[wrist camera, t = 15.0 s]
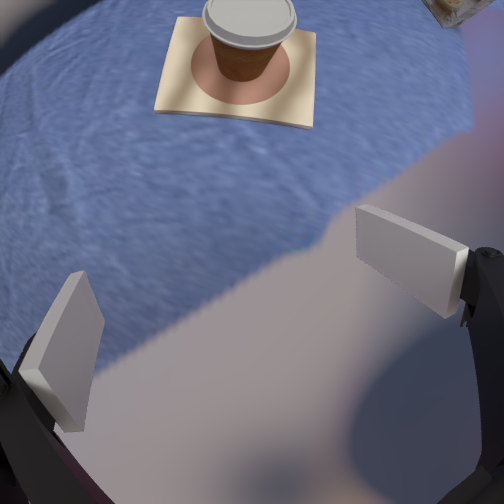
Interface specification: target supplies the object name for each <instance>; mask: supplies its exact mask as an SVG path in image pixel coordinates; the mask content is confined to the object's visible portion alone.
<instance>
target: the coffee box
mask: <svg viewBox="0 0 504 504" xmlns="http://www.w3.org/2000/svg"><path fill="white" fill-rule="evenodd" d="M422 1H423V2H424V3H425V5H426V6H427V7H428V8H429V10H430V11H431V12H432V14H433V15H434V16H435V18H436V19H437V20H438V22H439V23H440V25H441V26H442V27H443V28H454V27H458V26H459V25H461V24H462V23H464V22H465V21H466V20H468V19H469V18H471V17H472V16H474V15H475V14H476V13H478V12H479V11H481V10H482V9H484V8H485V7H486V6H488V5H489V4H491V3H492V2H494V1H495V0H422Z"/></svg>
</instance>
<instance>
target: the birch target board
mask: <svg viewBox="0 0 504 504" xmlns="http://www.w3.org/2000/svg"><path fill="white" fill-rule="evenodd" d="M315 53H316V33H313V32H309V31H304V30H299V29H294V31H293V33H292V34H291V35H290V36H289V37H288V38H287V39H286V40H284V41H283V42H282V43H281V45H280V46H279V48H278V49H277V51H276V52H275V54H274V56H273V57H272V59H271V60H270V62H269V63H268V65H267V67H266V68H265V70H264V72H263V73H262V74H261V75H260V76H259V77H258V78H256V79H254V80H252V81H247V82H238V81H233V80H230V79H228V78H227V77H225V76H224V75H223V74H222V73H221V72H220V70H219V68H218V65H217V60H216V56H215V52H214V48H213V44H212V40H211V36H210V32H209V31H208V30H207V28H206V27H205V24H204V22H203V17H178V18H177V21H176V25H175V28H174V31H173V35H172V38H171V42H170V45H169V49H168V53H167V56H166V60H165V64H164V68H163V72H162V76H161V80H160V84H159V89H158V93H157V98H156V102H155V107H154V111H155V113H165V114H186V115H201V116H213V117H224V118H233V119H242V120H251V121H258V122H266V123H273V124H279V125H286V126H292V127H298V128H303V129H309V130H310V129H311V128H312V127H313V111H314V88H315Z"/></svg>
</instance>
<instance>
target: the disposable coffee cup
mask: <svg viewBox="0 0 504 504" xmlns="http://www.w3.org/2000/svg"><path fill="white" fill-rule="evenodd" d="M202 17H203V22H204V24H205V27H206V28H207V30H208V31H209V32H210V36H211V40H212V44H213V48H214V52H215V56H216V60H217V65H218V68H219V70H220V72H221V73H222V74H223V75H224V76H225V77H227V78H228V79H230V80H233V81H238V82H247V81H252V80H254V79H256V78H258V77H259V76H260V75H261V74H262V73H263V72H264V70H265V68H266V67H267V65H268V63H269V62H270V60H271V59H272V57H273V56H274V54H275V52H276V51H277V49H278V48H279V46H280V45H281V43H282V42H283V41H284V40H286V39H287V38H288V37H289V36H290V35H291V34H292V33H293V31H294V29H295V27H296V22H297V17H296V13H295V11H294V6H293V4H292V2H291V0H208V2H207V3H206V4H205V7H204V9H203V15H202Z"/></svg>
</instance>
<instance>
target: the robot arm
mask: <svg viewBox="0 0 504 504" xmlns="http://www.w3.org/2000/svg"><path fill="white" fill-rule="evenodd" d="M355 210H356V239H357V240H356V243H357V244H356V246H357V257H358V258H359V259H360V260H362V261H363V262H365V263H366V264H368V265H369V266H371V267H372V268H374V269H375V270H377V271H378V272H380V273H381V274H383V275H384V276H386V277H387V278H388V279H390V280H391V281H393V282H394V283H396V284H397V285H399V286H400V287H402V288H403V289H404V290H406V291H407V292H409V293H410V294H411V295H413V296H414V297H416V298H417V299H418V300H420V301H421V302H423V303H424V304H425V305H427V306H428V307H429V308H431V309H432V310H434V311H435V312H436V313H438V314H439V315H440V316H442V317H443V318H445V319H446V318H447V317H449V316H451V315H453V314H454V313H456V312H457V310H458V305H459V301H460V298H461V299H462V300H464V301H465V302H466V303H465V307H464V311H463V315H462V319H461V323H460V327H462V326H463V323H464V322H465V321H467V324H466V327H468V331H469V335H470V340H471V346H472V350H473V357H474V363H475V369H476V377H477V385H478V393H479V404H480V416H481V434H482V451H481V456H480V458H479V461H478V464H477V466H476V469H475V471H474V472H473V473H472V474H471V475H470V476H468V477H467V478H466V479H465V480H464V481H462V482H461V483H460V484H459V485H457V486H456V487H455V488H454V489H452V490H451V491H450V492H448V493H447V494H446V495H445V496H444V497H443V498H442V499H441V500H440V501H439V502H438V503H437V504H504V255H503V254H502V253H501V252H500V251H499V250H496V249H494V248H490V247H481V248H478V249H476V250H475V252H474V251H472V250H470V249H469V247H467V246H465V245H462V244H461V243H458V242H456V241H454V240H452V239H450V238H448V237H445V236H443V235H441V234H439V233H436V232H434V231H432V230H429V229H427V228H425V227H423V226H420V225H418V224H415V223H413V222H411V221H408V220H406V219H404V218H401V217H399V216H396V215H394V214H391V213H389V212H386V211H384V210H381V209H378V208H376V207H373V206H371V205H368V204H366V205H361V206H356V207H355ZM104 324H105V320H104V317H103V315H102V313H101V310H100V308H99V306H98V303H97V301H96V298H95V296H94V293H93V291H92V288H91V286H90V283H89V280H88V278H87V275H86V272H85V270H83V271H79V272H75V273H71V274H70V275H69V277H68V279H67V280H66V282H65V283H64V285H63V287H62V288H61V290H60V292H59V294H58V295H57V297H56V299H55V300H54V302H53V304H52V306H51V307H50V309H49V311H48V313H47V315H46V316H45V318H44V320H43V322H42V324H41V326H40V328H39V329H38V331H37V333H35V334H34V335H33V336H32V337H31V338H30V339H29V340H28V341H27V343H26V345H25V347H24V349H23V352H22V353H21V355H20V357H19V358H20V359H18V361H17V363H16V365H15V367H14V369H13V372H12V374H10V373H9V371H8V370H7V368H6V367H5V365H4V364H3V362H2V360H1V359H0V504H29V502H30V504H115V503H114V502H113V501H112V500H111V499H110V498H109V497H108V496H107V495H106V494H105V493H104V492H103V491H102V490H101V489H100V487H99V486H98V485H97V484H96V483H95V482H94V481H93V479H92V478H91V477H90V476H89V475H88V474H87V473H86V471H85V470H84V469H83V468H82V467H81V465H80V464H79V463H78V462H77V460H76V459H75V458H74V456H73V455H72V454H71V453H70V451H69V450H68V449H67V448H66V446H65V445H64V443H63V442H62V440H61V439H60V438H59V436H58V435H57V434H56V433H55V432H54V431H53V430H54V425H55V422H56V423H57V424H58V425H59V426H60V427H61V429H62V430H63V431H64V432H79V431H84V425H85V418H86V411H87V405H88V399H89V394H90V388H91V383H92V378H93V373H94V368H95V363H96V358H97V354H98V349H99V345H100V341H101V336H102V332H103V328H104ZM28 500H29V501H28Z"/></svg>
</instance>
